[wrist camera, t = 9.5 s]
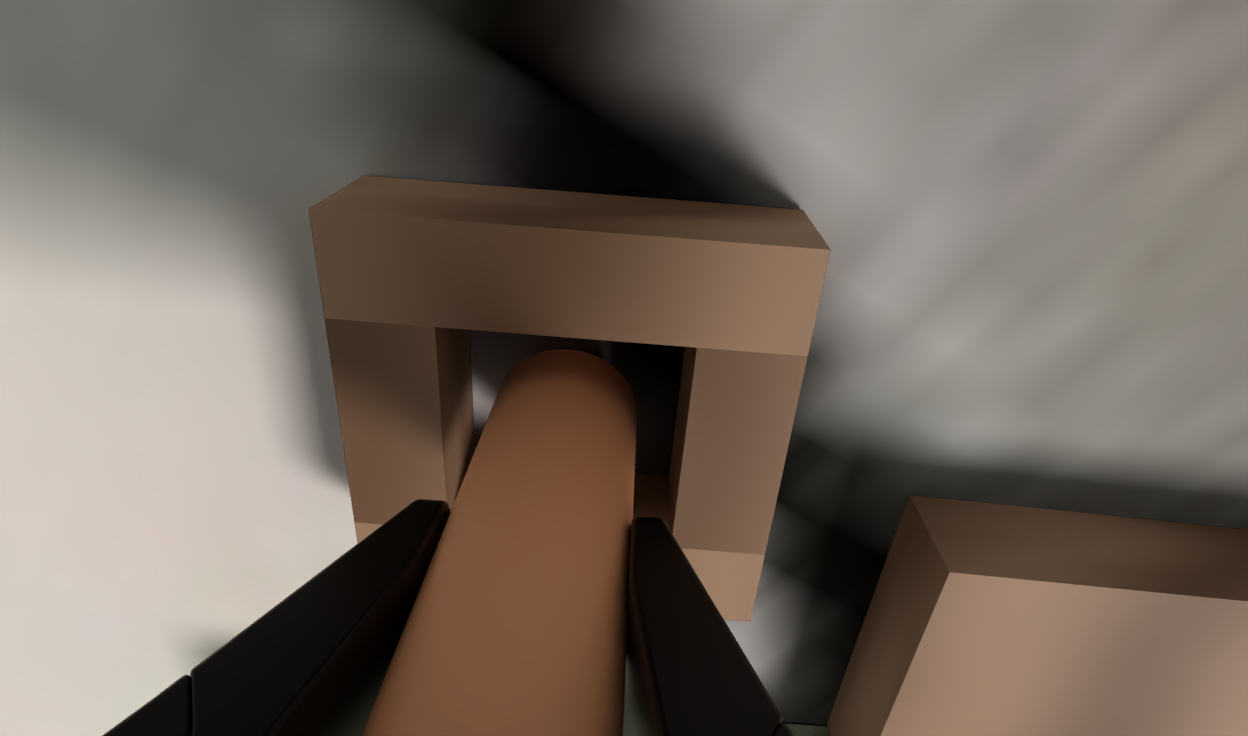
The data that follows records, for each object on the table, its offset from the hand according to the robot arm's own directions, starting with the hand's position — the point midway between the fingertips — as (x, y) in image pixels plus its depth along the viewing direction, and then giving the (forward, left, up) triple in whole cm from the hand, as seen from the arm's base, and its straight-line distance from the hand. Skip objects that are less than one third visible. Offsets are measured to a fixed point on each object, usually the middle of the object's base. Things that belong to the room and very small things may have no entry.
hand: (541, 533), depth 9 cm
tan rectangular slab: (-12, +6, -4) cm, 14 cm away
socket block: (0, 0, -4) cm, 4 cm away
